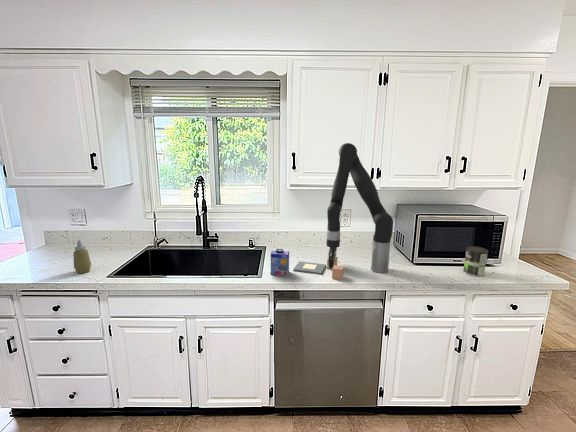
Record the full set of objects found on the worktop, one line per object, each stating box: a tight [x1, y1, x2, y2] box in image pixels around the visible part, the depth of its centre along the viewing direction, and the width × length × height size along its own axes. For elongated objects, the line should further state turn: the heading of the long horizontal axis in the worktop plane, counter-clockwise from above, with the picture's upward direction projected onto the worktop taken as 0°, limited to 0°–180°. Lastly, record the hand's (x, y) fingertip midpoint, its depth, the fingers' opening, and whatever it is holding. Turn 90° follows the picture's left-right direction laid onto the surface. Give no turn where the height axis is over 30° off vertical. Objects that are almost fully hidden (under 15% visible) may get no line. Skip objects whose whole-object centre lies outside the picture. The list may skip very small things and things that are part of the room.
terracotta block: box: [331, 264, 344, 281], centre depth 165 cm, size 5×5×6 cm
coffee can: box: [462, 245, 489, 278], centre depth 172 cm, size 10×10×14 cm
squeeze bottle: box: [73, 239, 92, 275], centre depth 169 cm, size 8×8×18 cm
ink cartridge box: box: [270, 248, 290, 276], centre depth 170 cm, size 10×6×14 cm, turn 86°
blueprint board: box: [292, 260, 327, 275], centre depth 178 cm, size 16×13×1 cm
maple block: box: [326, 256, 338, 270], centre depth 179 cm, size 5×5×6 cm
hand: (332, 266), depth 179 cm, fingers closed on maple block, 5 cm apart
